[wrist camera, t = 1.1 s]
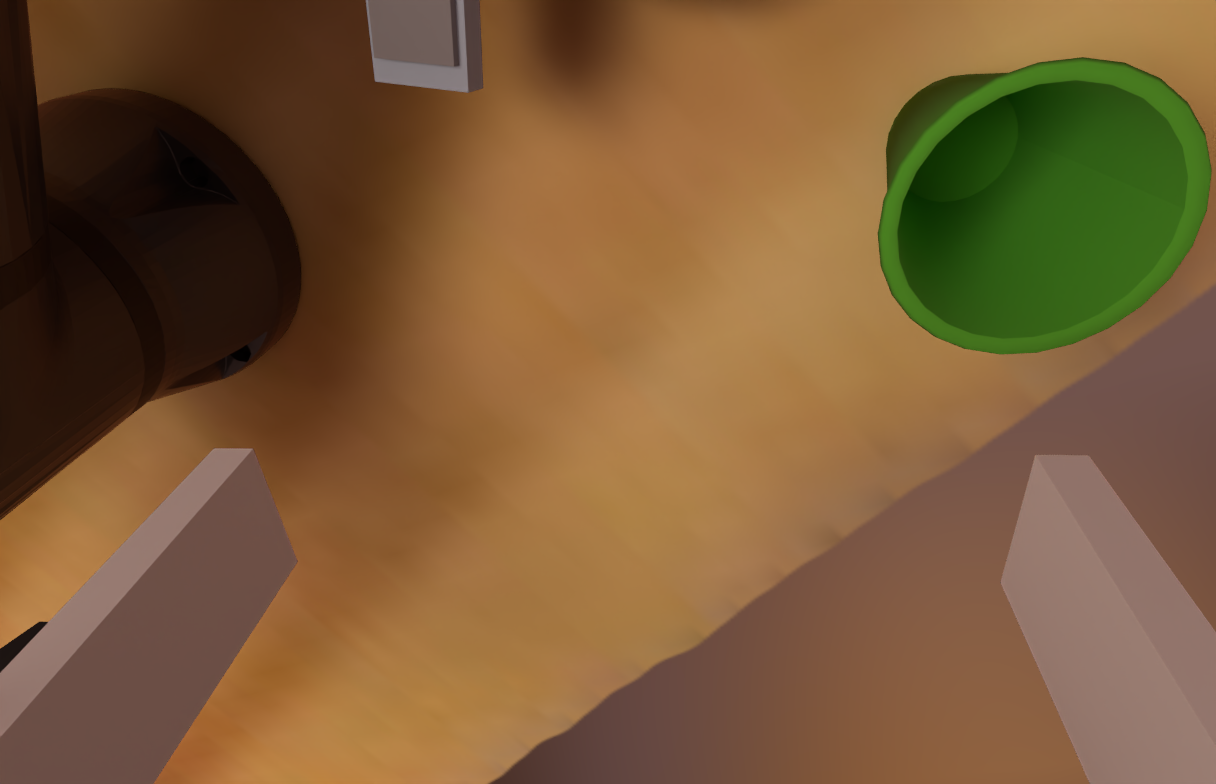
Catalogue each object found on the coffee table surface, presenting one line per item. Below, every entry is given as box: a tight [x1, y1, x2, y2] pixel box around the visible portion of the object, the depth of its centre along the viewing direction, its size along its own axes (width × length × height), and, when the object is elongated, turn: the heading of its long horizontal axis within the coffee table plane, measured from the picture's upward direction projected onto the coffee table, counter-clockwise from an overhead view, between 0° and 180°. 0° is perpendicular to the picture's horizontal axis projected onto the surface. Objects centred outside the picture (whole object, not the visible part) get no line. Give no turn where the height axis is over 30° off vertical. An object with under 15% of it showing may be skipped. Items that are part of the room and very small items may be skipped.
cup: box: [878, 57, 1211, 354], centre depth 27 cm, size 9×9×11 cm
